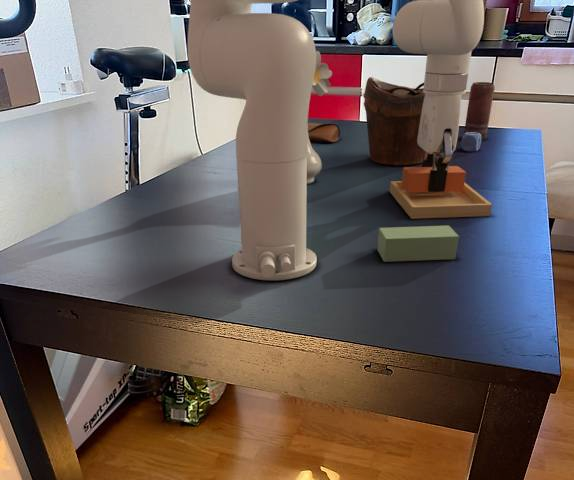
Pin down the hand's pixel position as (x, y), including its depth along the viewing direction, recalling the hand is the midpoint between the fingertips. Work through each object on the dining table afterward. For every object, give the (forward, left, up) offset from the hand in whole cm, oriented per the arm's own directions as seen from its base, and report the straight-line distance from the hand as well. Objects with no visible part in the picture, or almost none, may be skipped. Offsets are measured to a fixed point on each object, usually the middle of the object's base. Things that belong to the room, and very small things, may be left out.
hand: (432, 186), depth 113 cm
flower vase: (+16, +25, -2) cm, 30 cm away
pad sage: (-30, +11, -2) cm, 32 cm away
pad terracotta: (0, 0, 0) cm, 0 cm away
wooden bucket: (+32, -1, -2) cm, 32 cm away
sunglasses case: (+60, +19, -2) cm, 63 cm away
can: (+55, -28, -2) cm, 62 cm away
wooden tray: (-4, 0, -2) cm, 4 cm away
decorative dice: (+41, -22, -2) cm, 47 cm away
